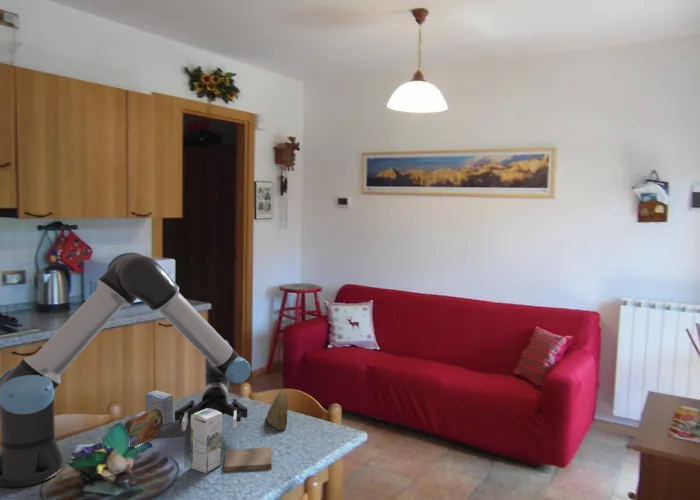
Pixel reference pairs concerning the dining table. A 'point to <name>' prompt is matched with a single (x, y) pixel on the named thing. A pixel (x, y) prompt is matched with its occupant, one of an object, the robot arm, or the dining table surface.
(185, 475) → the dining table surface
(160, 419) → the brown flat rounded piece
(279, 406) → the rock
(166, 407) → the medicine box
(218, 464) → the syrup box
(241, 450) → the walnut board
